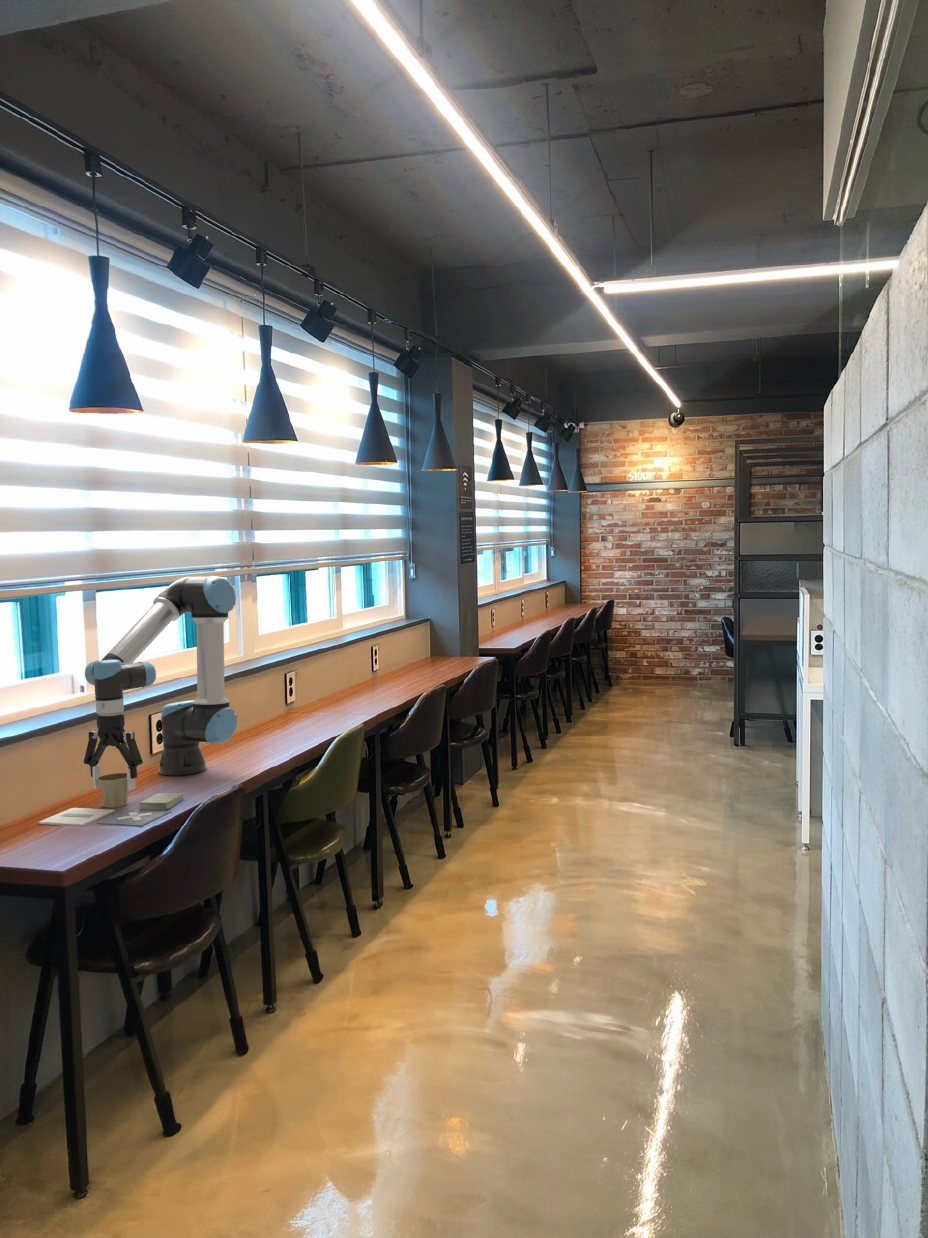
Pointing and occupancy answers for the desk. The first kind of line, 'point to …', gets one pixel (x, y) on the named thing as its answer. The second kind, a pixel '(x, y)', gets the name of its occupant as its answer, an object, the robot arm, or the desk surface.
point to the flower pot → (114, 789)
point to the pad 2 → (134, 817)
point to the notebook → (161, 801)
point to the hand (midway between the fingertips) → (114, 788)
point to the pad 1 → (76, 816)
